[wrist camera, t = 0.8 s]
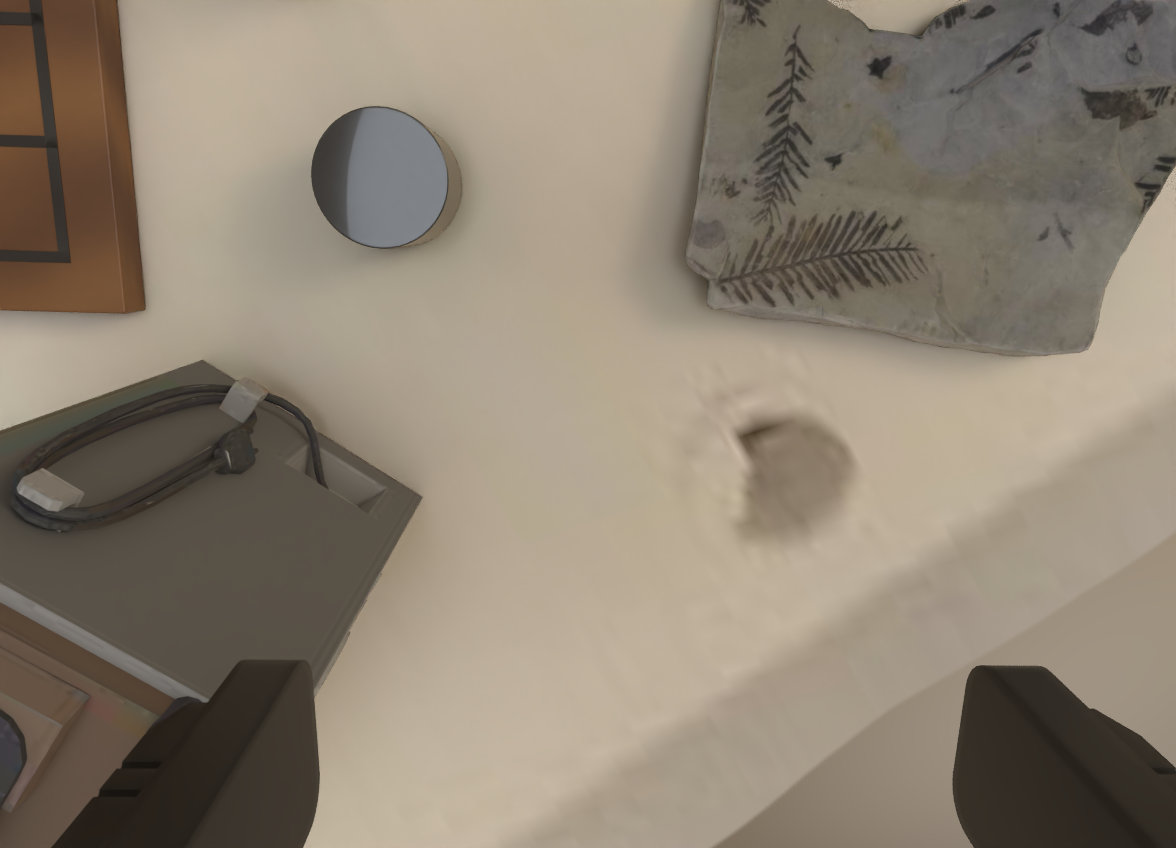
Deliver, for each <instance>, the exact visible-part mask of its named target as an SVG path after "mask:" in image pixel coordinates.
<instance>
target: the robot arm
mask: <svg viewBox="0 0 1176 848" xmlns="http://www.w3.org/2000/svg"><path fill="white" fill-rule="evenodd" d="M319 782H320V772H319V757H318V743H317V730H316V716H315V703H314V689H313V677H312V671H311V668H310V665H309V663H308V662H307V661H306V660H260V659H244V660H241V661H239V662H238V663H237V664H236V665H235V666H234V668H233V669H232V670H231V672H230V673H229V674H228V676H227V677H226V678H225V680H224V681H223V682H222V684H221V685H220V686H219V688H218V689H217V690H216V692H215V693H214V694H213V696H212V697H211V698H210V700H209V701H208V702H189V703H188V704H186V705H185V706H183V707H182V708H180V709H179V710H177V711H176V712H174V713H173V714H171V715H170V716H168V717H167V718H165V719H164V720H162V721H161V722H159V723H158V724H156V725H155V726H153V727H152V728H150V729H149V730H148V731H147V732H146V734H145V735H144V736H143V737H142V738H141V740H140V741H139V742H138V743H137V744H136V746H135V747H134V748H133V749H132V750H131V752H130V753H129V754H128V755H127V757H126V758H125V759H124V760H123V761H122V767H121V769H118V768H117V769H116V770H115V771H114V772H113V773H112V775H111V776H110V777H109V778H108V780H107V781H106V782H105V783H104V784H103V786H102V787H101V788H100V789H99V795H98V797H93V798H92V799H91V800H90V801H89V803H88V804H87V805H86V806H85V807H84V809H83V810H82V811H81V812H80V813H79V815H78V816H77V817H76V818H75V819H74V821H73V822H72V823H71V824H70V826H69V827H68V828H67V829H66V830H65V832H64V833H63V834H62V835H61V836H60V838H59V839H58V840H57V841H56V842H55V844H54V845H53V846H52V847H51V848H303V846H304V844H305V842H306V839H307V837H308V835H309V832H310V830H311V827H312V824H313V821H314V817H315V813H316V808H317V802H318V794H319ZM953 795H954V803H955V807H956V811H957V815H958V818H959V821H960V824H961V826H962V828H963V830H964V832H965V834H966V836H967V837H968V839H969V840H970V842H971V843H972V845H973V847H974V848H1176V768H1175V767H1174V766H1173V765H1172V764H1171V763H1170V762H1169V761H1168V760H1167V759H1166V758H1164V757H1163V756H1162V755H1161V754H1160V753H1159V752H1158V751H1157V750H1156V749H1155V748H1154V747H1152V746H1151V745H1150V744H1149V743H1148V742H1147V741H1146V740H1145V739H1144V738H1143V737H1142V736H1140V735H1138V734H1137V733H1135V732H1133V731H1132V730H1130V729H1128V728H1127V727H1125V726H1123V725H1121V724H1120V723H1118V722H1116V721H1114V720H1113V719H1111V718H1109V717H1107V716H1106V715H1104V714H1102V713H1101V712H1099V711H1097V710H1095V709H1089V708H1088V707H1087V706H1086V705H1085V704H1084V703H1082V701H1081V700H1080V699H1079V698H1077V697H1076V696H1075V695H1074V694H1073V693H1072V692H1071V691H1070V690H1069V689H1068V688H1067V687H1066V686H1065V685H1064V684H1063V683H1062V682H1061V681H1060V680H1059V679H1058V678H1056V676H1054V675H1053V674H1052V673H1051V672H1050V671H1049V670H1048V669H1046V668H1044V667H1042V666H988V665H987V666H985V665H981V666H976V667H975V668H974V669H972V671H971V672H970V674H969V676H968V679H967V683H966V689H965V695H964V702H963V709H962V716H961V723H960V729H959V737H958V743H957V750H956V757H955V764H954V771H953Z"/></svg>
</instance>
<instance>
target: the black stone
mask: <svg viewBox="0 0 1176 848" xmlns="http://www.w3.org/2000/svg"><path fill="white" fill-rule="evenodd" d="M311 178H312V187H313V191H314V195H315V198H316V200H317V203H318V205H319V207H320V209H321V211H322V213H323V214H324V216H325V217H326V219H327V220H328V221H329V222H330V224H331V225H332V226H333V227H334V228H335V229H336V230H337V231H338V232H340V233H341V234H342V235H344V236H345V237H347V238H348V239H350V240H352V241H354V242H356V243H358V244H361V245H364V246H367V247H372V248H380V249H389V248H400V247H410V246H416V245H420V244H423V243H426V242H428V241H430V240H432V239H434V238H435V237H437V236H438V235H440V234H441V233H442V232H443V231H444V230H445V229H446V228H447V227H448V226H449V225H450V223H451V222H452V220H453V219H454V217H455V215H456V213H457V211H458V208H459V205H460V202H461V197H462V177H461V172H460V168H459V165H458V162H457V160H456V158H455V155H454V154H453V152H452V150H451V149H450V147H449V146H448V145H447V144H446V142H445V141H444V140H443V139H442V138H441V137H440V136H439V135H437V134H436V133H435V132H433V131H432V130H431V129H429V128H428V127H426V126H425V125H424V124H422V123H421V122H419V121H418V120H417V119H415V118H414V117H412V116H410V115H408V114H407V113H404V112H402V111H399V110H397V109H393V108H389V107H381V106H371V107H364V108H359V109H356V110H353V111H351V112H349V113H347V114H344V115H343V116H341V117H340V118H338V119H337V120H336V121H335V122H333V123H332V124H331V125H330V126H329V127H328V129H327V130H326V131H325V132H324V134H323V135H322V137H321V139H320V140H319V142H318V144H317V147H316V149H315V152H314V156H313V161H312V167H311Z"/></svg>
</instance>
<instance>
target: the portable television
mask: <svg viewBox="0 0 1176 848" xmlns="http://www.w3.org/2000/svg"><path fill="white" fill-rule="evenodd" d="M272 403H273V404H272ZM274 404H275V405H278V406H280V407H282V408H284V409H285V410H287V411H289V412H291V413H292V414H293V415H295V416H296V417H297V418H298V419H299V420H298V419H296V418H295V417H293V416H292V415H290V414H288V413H287V412H285V411H284V410H282V409H280V408H279V407H277V406H275V405H274ZM422 498H423V497H421V496H420V495H418V494H417V493H415V492H413V491H412V490H410V489H409V488H407V487H405V486H404V485H402V484H401V483H399V482H397V481H396V480H394V479H393V478H391V477H389V476H388V475H386V474H385V473H383V472H381V471H380V470H378V469H377V468H375V467H373V466H372V465H370V464H368V463H367V462H365V461H364V460H362V459H360V458H359V457H357V456H356V455H354V454H352V453H351V452H349V451H348V450H346V449H344V448H343V447H341V446H340V445H338V444H336V443H335V442H333V441H332V440H330V439H328V438H327V437H325V436H324V435H322V434H320V433H319V432H317V431H316V430H314V428H313V426H312V423H311V421H310V420H309V419H308V418H307V417H306V416H305V415H304V414H303V413H302V412H301V411H300V410H299V409H298V408H297V407H295V406H294V405H292V404H291V403H289V402H287V401H286V400H284V399H283V398H280V397H277V396H274V395H272V394H269V393H268V391H267V390H266V389H264V388H263V387H261V386H260V385H258V384H256V383H255V382H253V381H252V380H250V379H247V378H243V379H241V380H239V381H235V380H234V379H232V378H231V377H229V376H227V375H226V374H224V373H223V372H221V371H219V370H218V369H216V368H215V367H213V366H211V365H210V364H208V363H207V362H205V361H203V360H201V361H198V362H195V363H193V364H190V365H187V366H184V367H181V368H178V369H175V370H173V371H170V372H167V373H164V374H161V375H158V376H155V377H153V378H150V379H147V380H144V381H141V382H138V383H135V384H133V385H130V386H127V387H124V388H121V389H118V390H115V391H113V392H110V393H107V394H104V395H101V396H98V397H95V398H93V399H90V400H87V401H84V402H81V403H78V404H75V405H73V406H70V407H67V408H64V409H61V410H58V411H55V412H53V413H50V414H47V415H44V416H41V417H38V418H35V419H33V420H30V421H27V422H24V423H21V424H18V425H15V426H13V427H10V428H7V429H4V430H1V431H0V848H51V847H52V846H53V845H54V844H55V842H56V841H57V840H58V839H59V838H60V836H61V835H62V834H63V833H64V832H65V830H66V829H67V828H68V827H69V826H70V824H71V823H72V822H73V821H74V819H75V818H76V817H77V816H78V815H79V813H80V812H81V811H82V810H83V809H84V807H85V806H86V805H87V804H88V803H89V801H90V800H91V799H92V798H93V797H98V795H99V789H100V788H101V787H102V786H103V784H104V783H105V782H106V781H107V780H108V778H109V777H110V776H111V775H112V773H113V772H114V771H115V770H116V769H117V768H118V769H121V767H122V761H123V760H124V759H125V758H126V757H127V755H128V754H129V753H130V752H131V750H132V749H133V748H134V747H135V746H136V744H137V743H138V742H139V741H140V740H141V738H142V737H143V736H144V735H145V734H146V732H147V731H148V730H149V729H150V728H152V727H153V726H155V725H156V724H158V723H159V722H161V721H162V720H164V719H165V718H167V717H168V716H170V715H171V714H173V713H174V712H176V711H177V710H179V709H180V708H182V707H183V706H185V705H186V704H188V703H189V702H208V701H209V700H210V698H211V697H212V696H213V694H214V693H215V692H216V690H217V689H218V688H219V686H220V685H221V684H222V682H223V681H224V680H225V678H226V677H227V676H228V674H229V673H230V672H231V670H232V669H233V668H234V666H235V665H236V664H237V663H238V662H239V661H241V660H244V659H260V660H306V661H307V662H308V663H309V665H310V668H311V671H312V677H313V689H314V698H315V696H316V694H317V692H318V691H319V689H320V687H321V686H322V684H323V682H324V681H325V679H326V677H327V675H328V674H329V672H330V670H331V668H332V667H333V665H334V663H335V661H336V660H337V658H338V656H339V654H340V652H341V651H342V649H343V647H344V645H345V643H346V641H347V639H348V637H349V634H350V631H349V630H350V629H351V627H352V625H353V623H354V621H355V619H356V618H357V616H358V614H359V612H360V611H361V609H362V608H363V606H364V604H365V602H366V601H367V600H366V599H367V597H368V595H369V594H370V592H371V591H372V589H373V587H374V586H375V584H376V582H377V581H378V579H379V578H380V576H381V570H382V569H383V567H384V565H385V563H386V561H387V560H388V558H389V556H390V554H391V553H392V551H393V549H394V547H395V545H396V544H397V542H398V540H399V538H400V537H401V535H402V533H403V531H404V530H405V528H406V526H407V524H408V522H409V521H410V519H411V517H412V515H413V514H414V512H415V510H416V508H417V506H418V505H419V503H420V501H421V499H422Z"/></svg>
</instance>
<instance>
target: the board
mask: <svg viewBox="0 0 1176 848" xmlns="http://www.w3.org/2000/svg"><path fill="white" fill-rule="evenodd" d="M0 310H12V311H48V312H85V313H122V314H125V313H131V312H136V311H141V310H145V301H144V290H143V280H142V269H141V258H140V248H139V237H138V226H137V216H136V205H135V194H134V184H133V173H132V162H131V152H130V141H129V130H128V120H127V109H126V98H125V88H124V77H123V66H122V56H121V45H120V34H119V24H118V13H117V2H116V0H0Z"/></svg>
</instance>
